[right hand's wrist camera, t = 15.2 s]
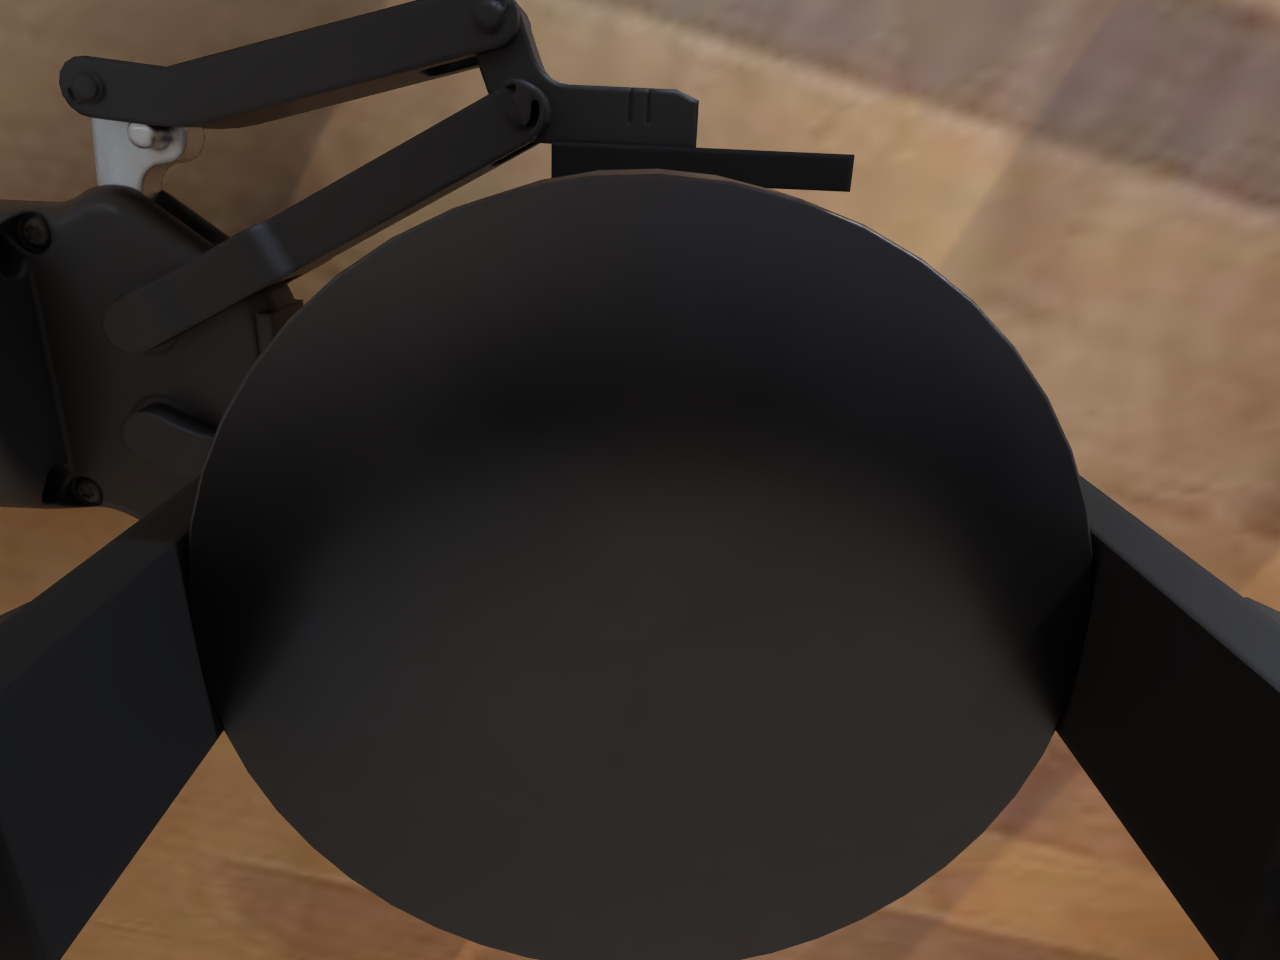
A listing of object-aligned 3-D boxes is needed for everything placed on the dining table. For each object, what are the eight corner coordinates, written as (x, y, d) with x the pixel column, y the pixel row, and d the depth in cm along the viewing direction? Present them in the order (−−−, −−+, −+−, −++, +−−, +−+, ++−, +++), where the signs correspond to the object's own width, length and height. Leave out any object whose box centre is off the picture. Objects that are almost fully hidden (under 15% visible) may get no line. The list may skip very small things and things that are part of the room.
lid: (509, 942, 15) (490, 1062, 13) (96, 417, 11) (-16, 471, 9) (1116, 701, 13) (1198, 797, 11) (841, -12, 10) (890, -51, 8)
